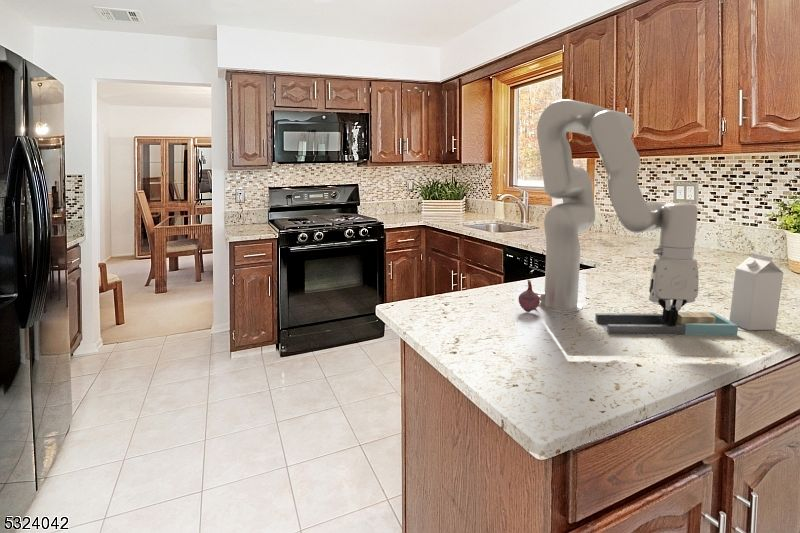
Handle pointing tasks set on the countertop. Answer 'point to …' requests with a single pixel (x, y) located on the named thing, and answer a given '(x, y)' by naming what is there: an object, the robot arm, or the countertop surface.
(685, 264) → the robot arm
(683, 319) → the chip
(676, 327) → the rail
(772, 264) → the milk carton
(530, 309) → the vegetable
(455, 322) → the countertop surface
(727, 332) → the tray
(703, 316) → the chip
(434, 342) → the countertop surface
